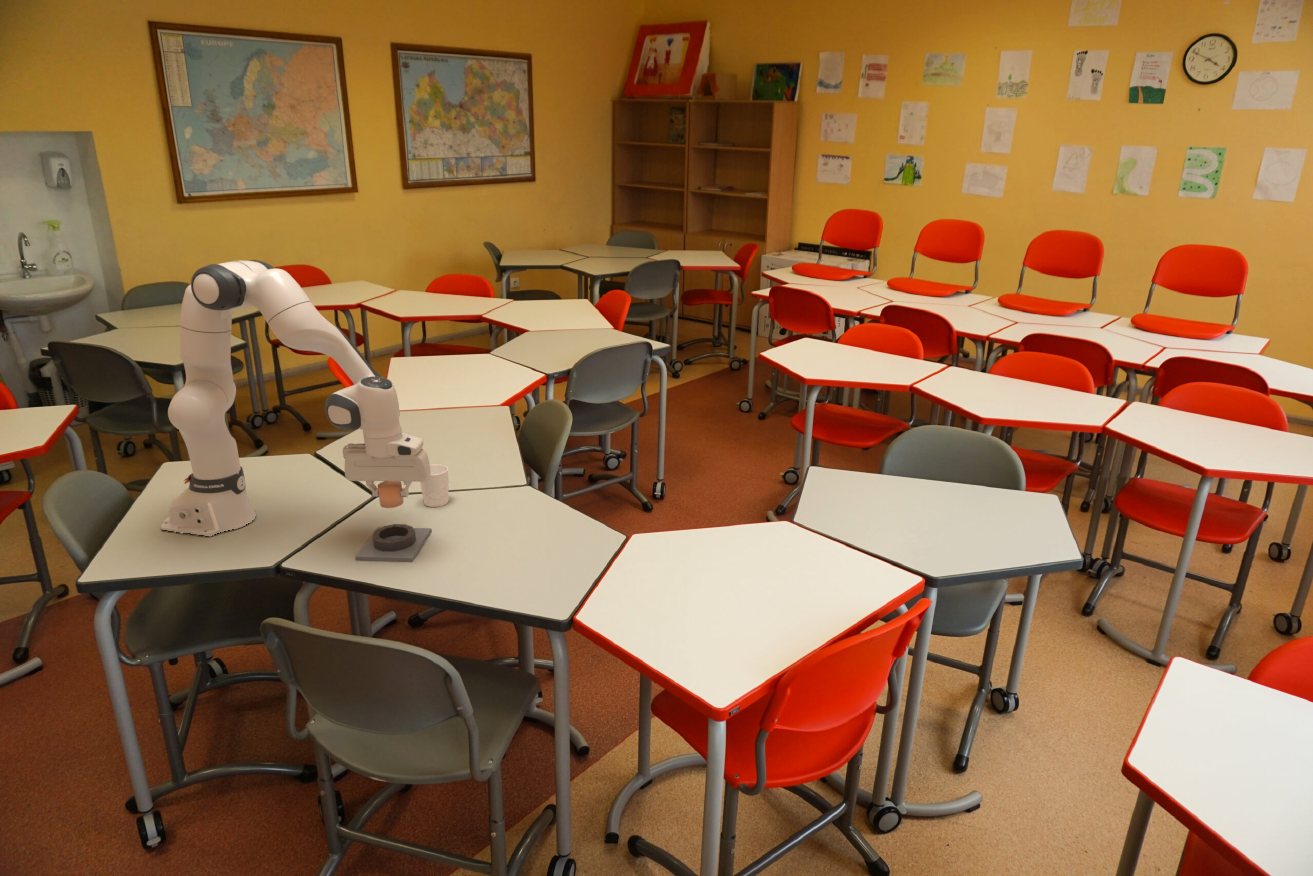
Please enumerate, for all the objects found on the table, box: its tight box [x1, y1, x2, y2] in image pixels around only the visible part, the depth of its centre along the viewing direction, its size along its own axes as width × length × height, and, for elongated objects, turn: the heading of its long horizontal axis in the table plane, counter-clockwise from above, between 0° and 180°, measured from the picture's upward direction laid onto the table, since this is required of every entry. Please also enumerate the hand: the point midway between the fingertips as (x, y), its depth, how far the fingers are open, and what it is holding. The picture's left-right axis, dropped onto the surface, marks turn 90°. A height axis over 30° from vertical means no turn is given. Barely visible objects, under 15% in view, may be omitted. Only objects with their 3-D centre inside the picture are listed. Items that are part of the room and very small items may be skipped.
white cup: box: [419, 463, 450, 508], centre depth 227 cm, size 8×8×10 cm
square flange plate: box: [354, 523, 433, 563], centre depth 204 cm, size 14×16×4 cm
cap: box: [377, 481, 404, 509], centre depth 200 cm, size 6×6×5 cm
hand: (390, 496), depth 200 cm, fingers closed on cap, 6 cm apart
